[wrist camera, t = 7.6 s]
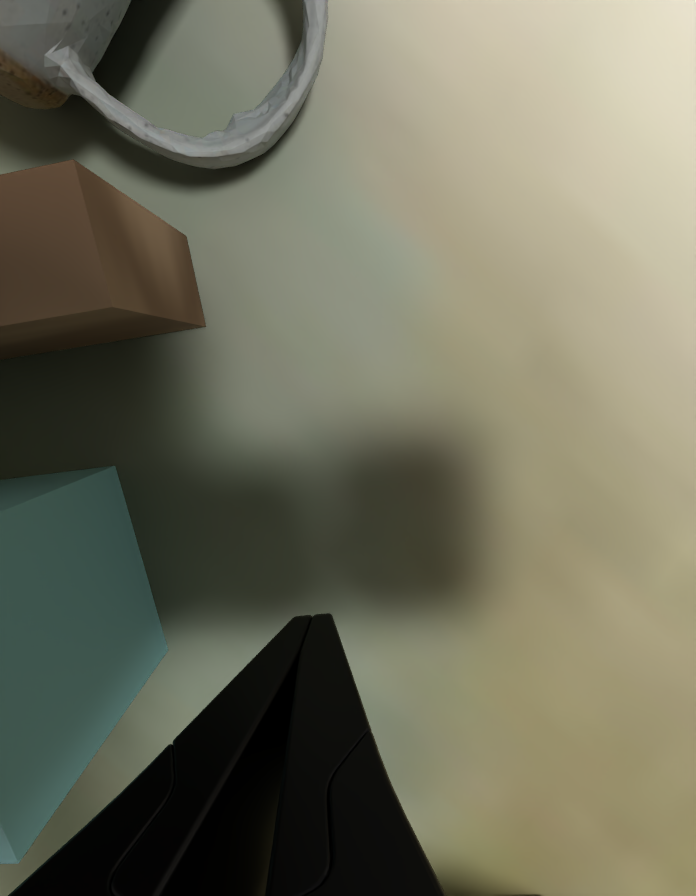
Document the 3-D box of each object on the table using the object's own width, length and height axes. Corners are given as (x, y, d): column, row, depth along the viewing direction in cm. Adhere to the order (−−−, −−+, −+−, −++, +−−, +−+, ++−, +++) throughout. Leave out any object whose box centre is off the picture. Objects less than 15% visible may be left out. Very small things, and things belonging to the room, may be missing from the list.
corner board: (295, 739, 14) (267, 884, 10) (-25, 757, 15) (-161, 894, 11) (186, 236, 10) (73, 159, 6) (-229, 313, 11) (-538, 288, 8)
